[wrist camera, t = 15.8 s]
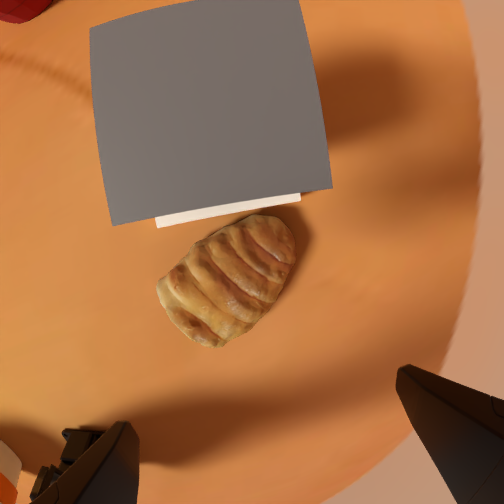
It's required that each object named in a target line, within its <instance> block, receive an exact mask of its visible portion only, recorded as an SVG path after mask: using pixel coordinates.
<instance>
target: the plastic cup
mask: <svg viewBox="0 0 504 504" xmlns="http://www.w3.org/2000/svg"><path fill="white" fill-rule="evenodd" d="M52 1H53V0H0V20H1V21H5V22H9V23H18V24H20V23H23V22H27V21H29V20H31V19H32V18H34V17H36V16H37V15H39V14H40V13H41V12H42V11H43V10H44V9H45V8H46V7H47V6H49V5H50V3H51V2H52Z"/></svg>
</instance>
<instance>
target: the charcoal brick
mask: <svg viewBox="0 0 504 504" xmlns="http://www.w3.org/2000/svg"><path fill="white" fill-rule="evenodd" d="M90 66H91V84H92V97H93V108H94V118H95V127H96V135H97V143H98V150H99V156H100V163H101V169H102V175H103V181H104V186H105V192H106V197H107V202H108V207H109V212H110V216H111V221H112V226H116V225H121V224H125V223H130V222H135V221H140V220H145V219H150V218H154V217H159V216H165V215H170V214H175V213H180V212H185V211H191V210H196V209H202V208H207V207H213V206H219V205H225V204H230V203H236V202H243V201H249V200H255V199H261V198H268V197H274V196H281V195H288V194H295V193H302V192H309V191H317V190H324V189H332V188H333V186H332V177H331V169H330V161H329V154H328V146H327V139H326V132H325V126H324V120H323V113H322V107H321V101H320V96H319V90H318V85H317V80H316V74H315V69H314V64H313V59H312V55H311V50H310V45H309V41H308V37H307V32H306V28H305V24H304V20H303V16H302V12H301V8H300V4H299V0H195V1H189V2H183V3H178V4H173V5H168V6H164V7H159V8H155V9H151V10H147V11H143V12H139V13H136V14H132V15H129V16H125V17H122V18H119V19H115V20H112V21H109V22H106V23H103V24H100V25H98V26H95V27H92V28H90Z"/></svg>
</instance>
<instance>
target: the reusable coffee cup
mask: <svg viewBox="0 0 504 504" xmlns="http://www.w3.org/2000/svg"><path fill="white" fill-rule="evenodd" d="M21 468H22V463H21V461H20V459H19V458H18V457H17V455H16V454H15V453H14V452H13V451H12V450H11V449H10V448H9V447H8V446H7V445H6V444H5V443H4V442H3V441H1V440H0V504H15V503H16V498H17V494H18V492H17V490H16V487H17V483H18V479H19V475H20V472H21Z"/></svg>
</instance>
